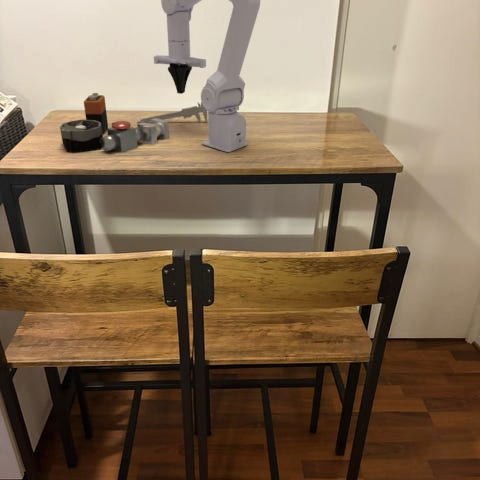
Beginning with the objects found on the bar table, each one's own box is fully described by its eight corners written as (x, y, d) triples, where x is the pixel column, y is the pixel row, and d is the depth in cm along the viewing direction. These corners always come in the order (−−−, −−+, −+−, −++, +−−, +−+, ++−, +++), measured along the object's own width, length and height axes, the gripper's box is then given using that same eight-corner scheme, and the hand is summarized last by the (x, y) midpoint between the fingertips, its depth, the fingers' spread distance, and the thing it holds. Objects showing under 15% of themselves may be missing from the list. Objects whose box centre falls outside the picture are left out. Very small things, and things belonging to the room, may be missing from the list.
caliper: (207, 122, 146) (206, 100, 143) (207, 123, 145) (206, 101, 142) (136, 123, 144) (135, 101, 141) (136, 124, 143) (134, 102, 140)
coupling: (156, 134, 134) (155, 117, 132) (169, 137, 132) (168, 120, 130) (138, 141, 129) (137, 124, 127) (152, 144, 127) (150, 127, 125)
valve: (112, 155, 119) (109, 130, 116) (99, 150, 122) (96, 126, 119) (146, 144, 127) (144, 121, 124) (134, 140, 129) (131, 117, 126)
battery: (87, 134, 133) (82, 97, 128) (93, 127, 139) (88, 91, 134) (103, 134, 133) (99, 97, 128) (108, 127, 139) (104, 91, 134)
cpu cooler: (96, 117, 128) (105, 127, 120) (99, 138, 131) (108, 149, 123) (56, 121, 124) (62, 132, 116) (59, 143, 127) (66, 155, 119)
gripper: (146, 40, 127) (150, 93, 133) (198, 44, 123) (199, 98, 129) (159, 36, 132) (162, 87, 139) (208, 40, 128) (209, 92, 135)
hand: (181, 92), depth 135 cm, fingers closed
